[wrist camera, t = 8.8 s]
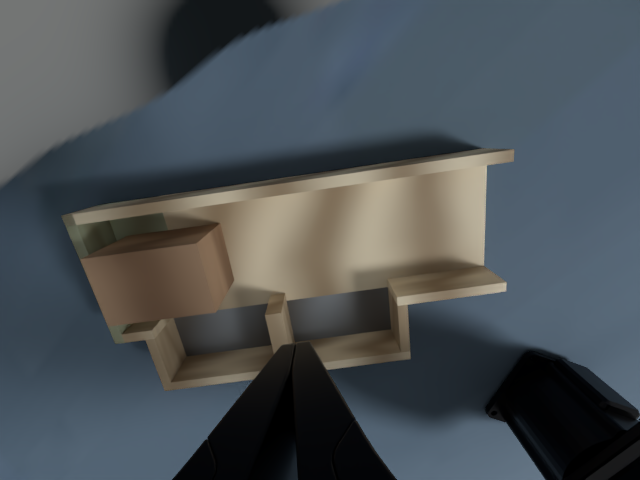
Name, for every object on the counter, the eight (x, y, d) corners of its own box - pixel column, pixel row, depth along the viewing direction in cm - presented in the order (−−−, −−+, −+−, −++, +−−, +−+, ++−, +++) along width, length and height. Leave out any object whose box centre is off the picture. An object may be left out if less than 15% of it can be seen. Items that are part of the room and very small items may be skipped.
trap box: (482, 148, 18) (514, 149, 15) (478, 320, 22) (502, 347, 19) (99, 204, 19) (61, 215, 16) (159, 362, 23) (136, 394, 20)
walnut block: (220, 222, 19) (196, 243, 15) (234, 280, 20) (215, 312, 16) (127, 235, 19) (80, 259, 15) (146, 292, 20) (108, 326, 16)
